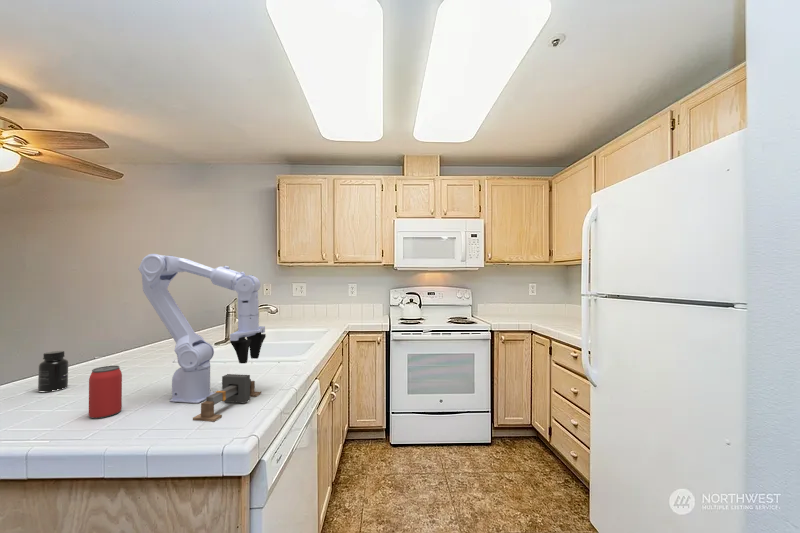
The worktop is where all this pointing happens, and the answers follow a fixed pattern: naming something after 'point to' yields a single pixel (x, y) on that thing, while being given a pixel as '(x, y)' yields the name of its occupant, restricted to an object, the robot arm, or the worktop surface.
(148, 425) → the worktop surface
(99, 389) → the beer can
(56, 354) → the supplement bottle
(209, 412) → the square bar stand
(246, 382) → the collar
